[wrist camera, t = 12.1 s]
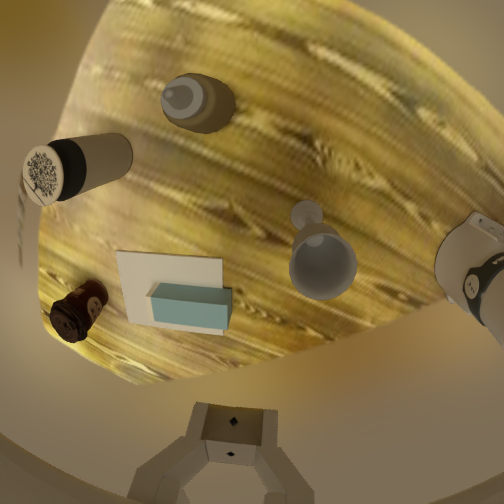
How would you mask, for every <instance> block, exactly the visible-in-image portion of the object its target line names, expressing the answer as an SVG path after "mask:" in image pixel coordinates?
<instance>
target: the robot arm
mask: <svg viewBox="0 0 504 504" xmlns="http://www.w3.org/2000/svg"><path fill="white" fill-rule="evenodd" d="M479 219H480V221H479ZM435 275H436V279H437V282H438V284H439V285H440V286H441V287H442V288H443V290H444V291H445V294H446V299H447V300H448V302H449V303H451V304H453V303H456V304H457V305H458V306H459V307H461V309H463V310H464V311H465V312H466V313H467V314H468V315H473V316H474V317H475V319H476V320H477V321H478V322H480V323H481V324H482V325H483V326H486V327H487V328H488V330H489V331H490V332H491V333H492V335H493V336H494V337H495V338H496V340H497V341H498V342H499V344H500V345H501V347H502V348H503V349H504V226H503V225H501V224H499V223H497V222H496V221H494V220H492V219H490V218H488V217H486V216H485V215H483V214H481V213H479V212H477V211H474V212H472V213H471V215H470V216H469V217H468V218H467V220H466V221H465V222H464V223H463V224H462V225H460V226H458V227H457V228H455V229H454V230H453V231H452V232H451V233H450V234H449V235H448V236H447V237H446V239H445V240H444V241H443V243H442V245H441V247H440V249H439V251H438V254H437V257H436V262H435ZM277 428H278V410H268V409H264V410H263V409H258V408H244V407H229V406H222V405H215V404H209V403H202V402H196V403H195V405H194V407H193V411H192V414H191V418H190V421H189V425H188V428H187V432H186V435H185V437H184V436H181V437H179V438H178V439H177V440H175V441H174V442H173V443H172V444H170V445H169V446H168V447H167V448H165V449H164V450H162V451H161V452H160V453H158V454H157V455H155V456H154V457H153V458H151V459H150V460H149V461H147V462H146V463H144V464H143V465H141V466H140V467H139V468H137V470H136V473H135V475H134V478H133V481H132V484H131V487H130V489H129V492H128V495H127V498H126V497H123V496H120V495H117V494H114V493H112V492H109V491H107V490H104V489H102V488H99V487H97V486H94V485H92V484H90V483H87V482H85V481H83V480H81V479H79V478H76V477H74V476H72V475H70V474H68V473H66V472H64V471H62V470H60V469H58V468H56V467H55V466H53V465H51V464H49V463H47V462H45V461H44V460H42V459H40V458H38V457H37V456H35V455H33V454H32V453H30V452H28V451H27V450H25V449H24V448H22V447H21V446H19V445H17V444H16V443H15V442H13V441H12V440H10V439H9V438H7V437H6V436H4V435H3V434H2V433H0V504H190V501H189V499H188V497H187V495H186V493H185V492H184V490H183V487H184V486H185V485H186V484H187V483H188V482H189V481H190V480H191V479H192V478H193V477H194V476H195V475H196V474H197V473H198V472H200V470H202V469H203V468H204V467H205V465H207V463H209V461H211V462H220V463H230V464H238V465H246V466H254V469H255V470H256V472H257V474H258V476H259V477H260V479H261V481H262V483H263V484H264V486H265V487H266V489H267V491H268V493H267V494H266V495H265V496H264V499H263V503H262V504H314V491H313V489H312V488H311V487H310V485H308V483H307V482H306V480H305V479H304V478H303V476H302V475H301V474H300V473H299V471H298V470H297V469H296V467H295V466H294V465H293V463H292V462H291V461H290V459H289V458H288V457H287V455H286V454H285V452H284V451H283V450H282V448H280V447H277V431H278V430H277ZM426 504H504V472H502V473H500V474H498V475H496V476H494V477H492V478H490V479H488V480H486V481H484V482H481V483H479V484H477V485H475V486H472V487H470V488H468V489H465V490H463V491H461V492H458V493H455V494H453V495H450V496H447V497H445V498H442V499H439V500H436V501H433V502H429V503H426Z"/></svg>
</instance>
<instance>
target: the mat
mask: <svg viewBox="0 0 504 504" xmlns="http://www.w3.org/2000/svg"><path fill="white" fill-rule="evenodd" d="M115 252H116V259H117V265H118V271H119V276H120V282H121V287H122V292H123V297H124V302H125V307H126V311H127V316H128V320H129V323H135V324H141V325H147V326H154V327H160V328H167V329H174V330H181V331H189V332H197V333H206V334H214V335H224V330H221V329H212V328H203V327H194V326H186V325H179V324H171V323H164V322H157V321H150V320H149V316H148V311H147V305H146V299H145V296H146V294H147V293H148V292H149V290H150V289H151V288H152V286H153V285H154V283H155V282H160V283H169V284H179V285H189V286H200V287H211V288H223V258H217V257H203V256H190V255H176V254H163V253H150V252H137V251H124V250H116V251H115Z"/></svg>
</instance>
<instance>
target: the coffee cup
mask: <svg viewBox="0 0 504 504" xmlns="http://www.w3.org/2000/svg"><path fill="white" fill-rule="evenodd" d="M107 301H108V294H107V291H106V289H105V287H104V286H103V285H102V283H101V282H99V281H97V280H96V279H88V280H87V281H86V282H85V284H84V285H81V286H80V287H78V288H76V290H75V291H73V292H71V293H69V294H68V295H67V296H66V297H65V298H64V299H62V300H58V301H56V302H54V303H53V305H52V308H51V312H50V321H51V324H52V326H53V328H54V329H55V330H56V331H57V333H58V334H59V336H60V337H61V338H62V339H63V340H65V341H67V342H70V343H75V342H77V341H82V340H84V339H86V337H87V333H88V332H87V331H88V330H89V329H90V328H91V326H92V325H93V323H94V322H95V320H96V319H97V317H98V316H99V314H100V312H101V311H102V308H103V306H104V305H105V304H106V303H107Z"/></svg>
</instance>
